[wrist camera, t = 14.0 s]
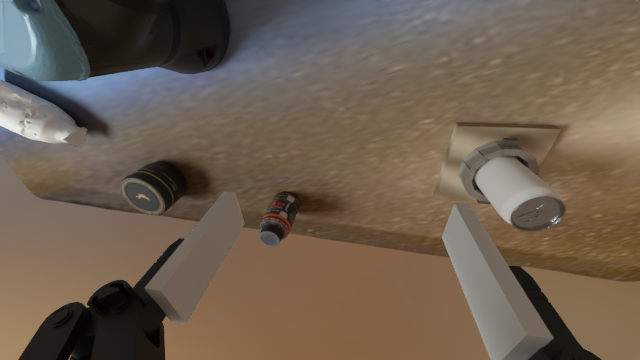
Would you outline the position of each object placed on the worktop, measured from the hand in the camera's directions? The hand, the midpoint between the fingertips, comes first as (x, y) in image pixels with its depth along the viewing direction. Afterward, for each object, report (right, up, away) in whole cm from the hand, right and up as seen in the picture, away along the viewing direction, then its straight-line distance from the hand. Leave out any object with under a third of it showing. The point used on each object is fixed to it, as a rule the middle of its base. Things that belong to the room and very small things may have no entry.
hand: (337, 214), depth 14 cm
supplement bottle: (-8, -3, +37) cm, 38 cm away
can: (+28, +4, +24) cm, 37 cm away
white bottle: (-58, +18, +33) cm, 69 cm away
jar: (-36, +3, +39) cm, 53 cm away
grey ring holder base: (+28, +5, +25) cm, 38 cm away
